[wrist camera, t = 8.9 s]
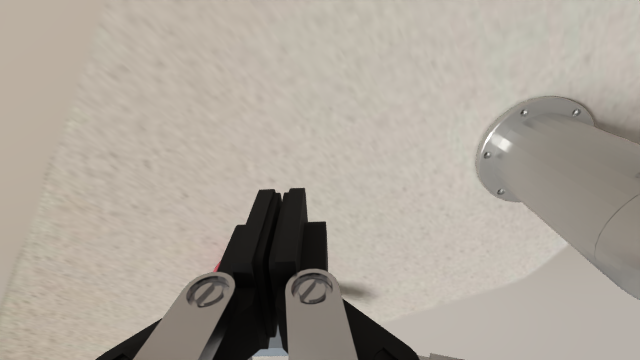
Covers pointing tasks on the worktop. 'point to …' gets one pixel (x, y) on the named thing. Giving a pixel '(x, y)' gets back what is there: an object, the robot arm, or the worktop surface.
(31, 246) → the worktop surface
